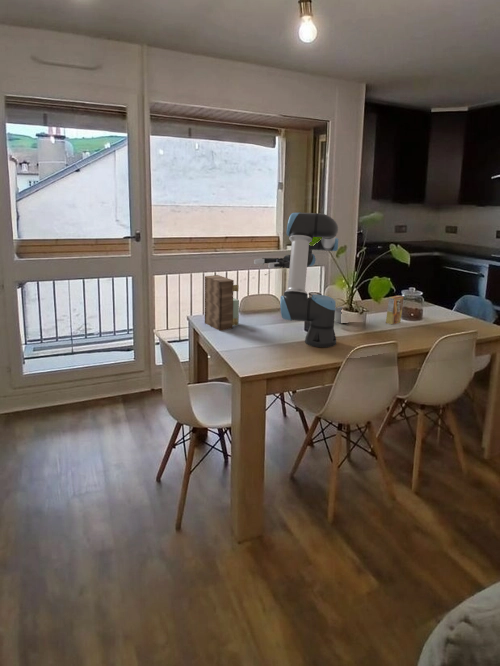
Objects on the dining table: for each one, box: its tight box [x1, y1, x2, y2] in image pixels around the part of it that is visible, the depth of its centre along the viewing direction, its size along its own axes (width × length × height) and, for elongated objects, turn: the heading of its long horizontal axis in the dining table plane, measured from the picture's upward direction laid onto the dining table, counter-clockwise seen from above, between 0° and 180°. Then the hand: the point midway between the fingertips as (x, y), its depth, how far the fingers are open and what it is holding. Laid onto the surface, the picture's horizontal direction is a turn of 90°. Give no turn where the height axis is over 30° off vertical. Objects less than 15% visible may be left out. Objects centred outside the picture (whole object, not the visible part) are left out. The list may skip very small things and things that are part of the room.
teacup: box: [334, 306, 344, 324], centre depth 278 cm, size 14×11×8 cm
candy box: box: [385, 295, 405, 325], centre depth 278 cm, size 9×4×15 cm, turn 129°
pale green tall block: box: [233, 297, 240, 327], centre depth 266 cm, size 8×4×14 cm, turn 34°
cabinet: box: [204, 274, 239, 331], centre depth 259 cm, size 18×10×26 cm, turn 34°
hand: (261, 263), depth 268 cm, fingers open, 13 cm apart
